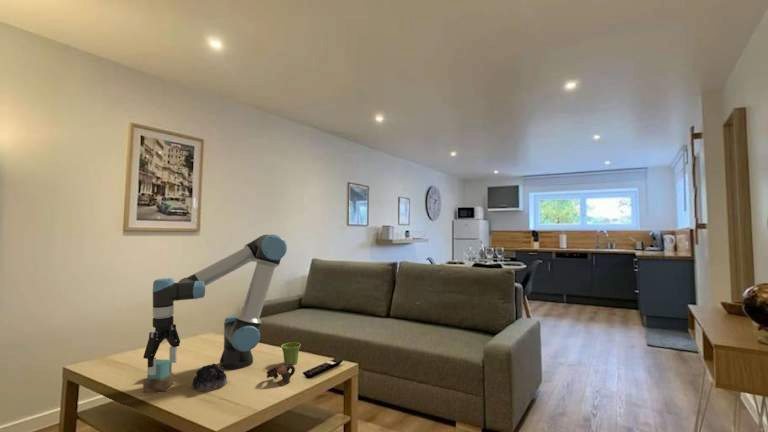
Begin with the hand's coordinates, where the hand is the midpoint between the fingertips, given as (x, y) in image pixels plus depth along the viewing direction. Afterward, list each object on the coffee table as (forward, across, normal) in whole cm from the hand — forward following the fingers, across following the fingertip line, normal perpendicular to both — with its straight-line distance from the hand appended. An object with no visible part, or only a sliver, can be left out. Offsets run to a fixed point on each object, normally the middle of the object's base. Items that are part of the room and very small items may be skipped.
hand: (162, 368), depth 157 cm
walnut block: (+8, +1, -1) cm, 8 cm away
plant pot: (+9, -33, +44) cm, 55 cm away
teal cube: (+3, 0, -2) cm, 4 cm away
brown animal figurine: (+9, -10, +46) cm, 48 cm away
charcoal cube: (+8, -11, -7) cm, 15 cm away
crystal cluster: (+9, -4, +18) cm, 20 cm away
